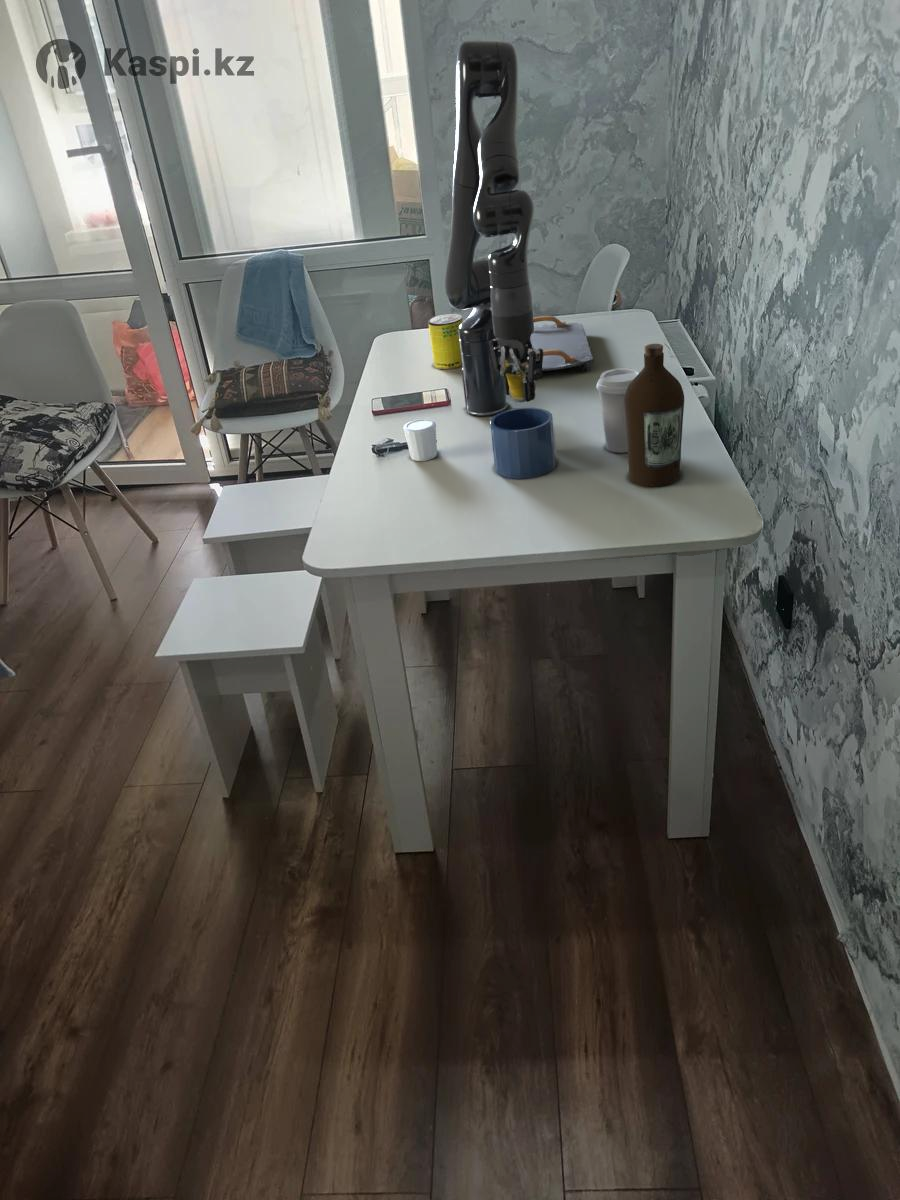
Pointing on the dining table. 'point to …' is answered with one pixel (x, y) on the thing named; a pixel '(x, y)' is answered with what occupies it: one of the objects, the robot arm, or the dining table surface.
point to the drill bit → (516, 387)
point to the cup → (523, 442)
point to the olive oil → (654, 422)
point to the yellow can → (445, 341)
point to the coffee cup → (615, 406)
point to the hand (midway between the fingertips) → (519, 396)
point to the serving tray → (560, 345)
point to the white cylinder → (421, 439)
